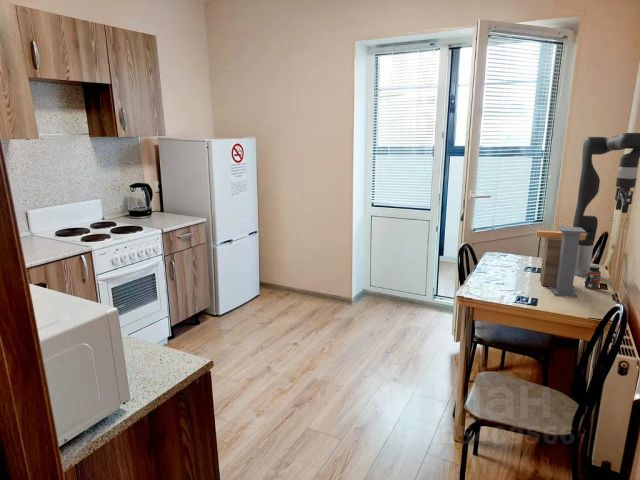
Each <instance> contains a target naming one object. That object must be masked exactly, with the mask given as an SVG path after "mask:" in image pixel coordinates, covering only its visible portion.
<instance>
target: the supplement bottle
mask: <svg viewBox="0 0 640 480" xmlns="http://www.w3.org/2000/svg"><path fill="white" fill-rule="evenodd" d="M601 273H602V272H601V271H600V267H599V266H596V265H590V269H589V270H588V271H587V275H586V276H585V282H584V287H585V288H586V289H589V290H598V289H599V286H600V281H601Z"/></svg>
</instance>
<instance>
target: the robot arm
mask: <svg viewBox="0 0 640 480" xmlns="http://www.w3.org/2000/svg"><path fill="white" fill-rule="evenodd" d="M626 149H631V151H630V152H628V153H624V154H622V155H621V156H620V160H619V167H618V169H617V170H618V171H617V176H616V182H615V187H616V192H615V196H614V199H615V203H616V204H615V210H616V211H621V213H622V214H627V213H628V212H629V206H630V205H631V204H632V203H633V195H634V191H633V190H631V189H633V188H635V187H636V185H637V184H636V183H637V179H638V173H639V171H638V167H639V163H640V132H624V133H623V132H622V133H621V134H618V135H614V136H611V137H605V136H587V137H586V138H585V139H584V141H583V144H582V157H581V159H582V161H581V162H582V163H581V171H580V179H579V184H578V185H579V186H578V192H577V193H578V194H577V195H578V196H577V202H576V207H575V213H574V218H573V225H572V227H580V228H582V229H584V230H585V231H586V238H585V240H579V245H578V252H577V259H576V267H575V274H574V276H584V277H586V275H587V271H588V270H589V269H590V266H592V265H591V264H592V257H593V250H594V242H595V240H596V236H597V235H596V234H597V230H598V226H599V225H598V223H599V222H598V217H597V216H596V215H584V213H585V211H586V209H587V208H588V205H589V204H590V203H591V202H592V201H593V200H594V199H595V197H596V196H597V195H598V193H599V190H600V185H601V179H600V176H599V174H598V173H597V171H596V168H595V167H594V165H593V156H595V155H599V156H600V155H605V154H608V153H609V152H612V151H620V150H622V151H623V150H626Z"/></svg>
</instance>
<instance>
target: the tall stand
mask: <svg viewBox="0 0 640 480" xmlns="http://www.w3.org/2000/svg"><path fill="white" fill-rule="evenodd" d="M557 229H558V230H559V232H562V233H563V234H562V242H561V250H560V258H559V266H558V274H557V282H556V287H549V288H550V291H551V292H552V294H553V296H559V297H567V296H568V298H569V297H570V298H578V294H577V293H576V291H575V290H574V288H573V287H574V280H575V267H576V259H577V252H578V245H579V237H580V234H586V231H585V230H584V229H582V228H580V227H573V226H561V225H560V226H557Z"/></svg>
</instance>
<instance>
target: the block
mask: <svg viewBox="0 0 640 480" xmlns="http://www.w3.org/2000/svg"><path fill="white" fill-rule="evenodd" d="M535 231H536V232H535V237H536V238H543V239H545V238H559V239H562V234H563V233H562V232H561V231H557V230H556V231H554V230H538V229H537V230H535ZM585 238H586V234H580V237H579V240H585Z"/></svg>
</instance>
